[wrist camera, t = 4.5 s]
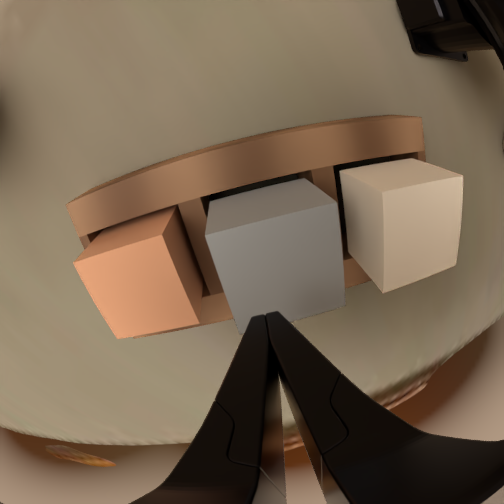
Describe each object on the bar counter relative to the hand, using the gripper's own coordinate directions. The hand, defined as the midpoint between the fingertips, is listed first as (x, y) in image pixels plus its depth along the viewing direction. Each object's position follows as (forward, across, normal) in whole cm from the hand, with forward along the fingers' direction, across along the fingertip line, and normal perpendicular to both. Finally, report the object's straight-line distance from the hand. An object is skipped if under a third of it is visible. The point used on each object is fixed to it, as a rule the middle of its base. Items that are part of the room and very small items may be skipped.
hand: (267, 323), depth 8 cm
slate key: (+7, -1, 0) cm, 7 cm away
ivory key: (+7, -8, 0) cm, 11 cm away
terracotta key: (+9, +6, 0) cm, 11 cm away
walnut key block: (+11, -1, 0) cm, 11 cm away
